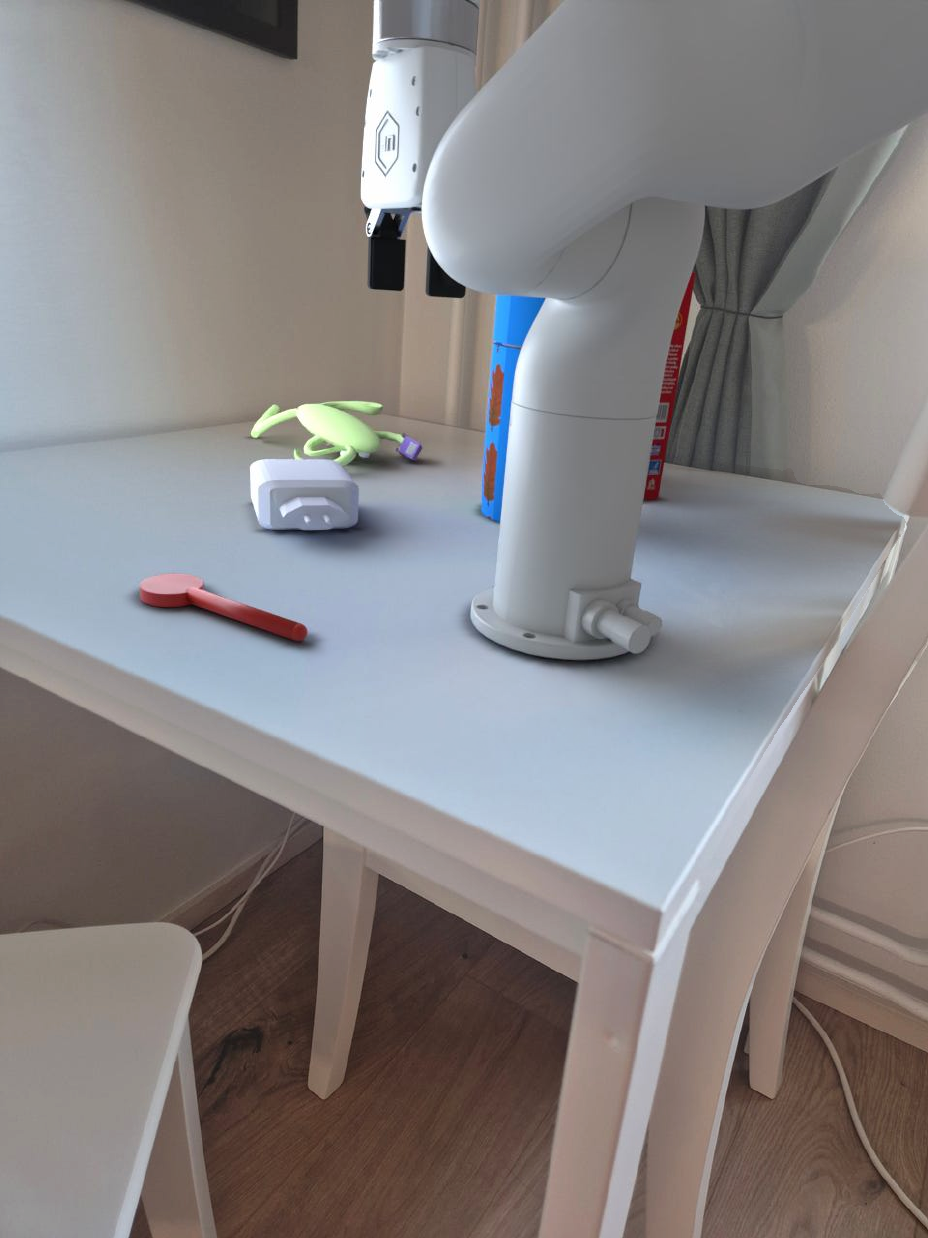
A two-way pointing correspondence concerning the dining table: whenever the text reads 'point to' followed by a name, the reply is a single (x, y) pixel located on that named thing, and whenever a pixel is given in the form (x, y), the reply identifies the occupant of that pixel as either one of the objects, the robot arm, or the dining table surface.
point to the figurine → (338, 429)
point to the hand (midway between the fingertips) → (413, 293)
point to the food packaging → (668, 397)
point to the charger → (303, 494)
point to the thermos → (503, 392)
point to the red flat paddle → (213, 603)
